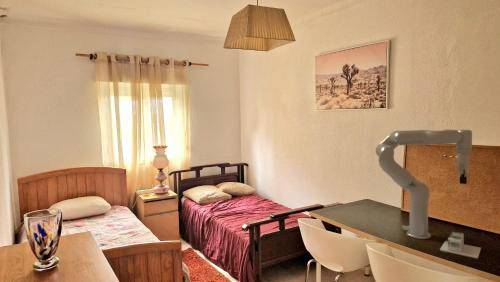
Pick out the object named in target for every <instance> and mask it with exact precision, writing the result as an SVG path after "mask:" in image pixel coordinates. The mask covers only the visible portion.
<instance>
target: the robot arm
mask: <svg viewBox="0 0 500 282" xmlns="http://www.w3.org/2000/svg"><path fill="white" fill-rule="evenodd" d="M472 131H473V130H471V129H458V130H457V129H443V130H430V129H417V130H414V129H413V130H394V131H392V132H391V133H390V134H389V135H387V136H386V137H385V138H384V139H383V140H382V141H380V143H379V144H377V145H376V148H375V154H376V155H377V156H378V163H379V166H380V168H381V170H382V171H383V172H385V174H387V176H389V177H390V178H391V179H392V180H393V181H394V183H396V184H397V185H398V186H400V188H401V189H402V190H404V191H406V192H407V193H408V194H410V200H409V225H401V229H402V230H403V231H405V230H406V235H407V236H408V237H411V238H414V239H419V240H420V239H421V240H427V239H431V238H432V236H431V235H432V234H431V233H430V232H429V198H430V192H431V191H430V188H429V186H428V185H427V184H426V183H424V182H422V181H420V180H419V179H417V178H416V177H414V176H413V175H412V174H411V172H409V171H408V170H407V169H405V167H402V165H400V164H399V163H398V162H396V161H395V150H396V148H397V147H398V146H416V145H417V146H418V145H419V146H421V145H422V146H423V145H424V146H427V145H450V144H455V154H456V169H455V170H456V172H459V184H461V185H462V184H463V185H467V181H468V178H467V177H468V176H467V172H468V171H469V170H470V169H469V168H470V155H472V153H473V132H472Z"/></svg>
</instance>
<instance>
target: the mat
mask: <svg viewBox="0 0 500 282" xmlns="http://www.w3.org/2000/svg"><path fill="white" fill-rule="evenodd" d="M481 250H482V247H478V246H473V245H468V244H465V243H464V244H463V248H462V251H461V252H458V251H453V250H448V240H445V241H444V242H443V244H442V245H441V247H440V249H439V251H440V252H444V253H451V254H455V255H460V256H462V257H463V256H464V257H467V258H468V257H469V258H473V259H478V258H479V256H480V252H481Z"/></svg>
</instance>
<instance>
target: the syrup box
mask: <svg viewBox="0 0 500 282" xmlns="http://www.w3.org/2000/svg"><path fill="white" fill-rule="evenodd" d="M464 237H465V235H464V233H463V232H456V231H451V232H450V234H449V236H448V238H447V241H448V250H453V251H458V252H461V251H462V248H463V244H464V245H465V243H464V241H465V238H464Z"/></svg>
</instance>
